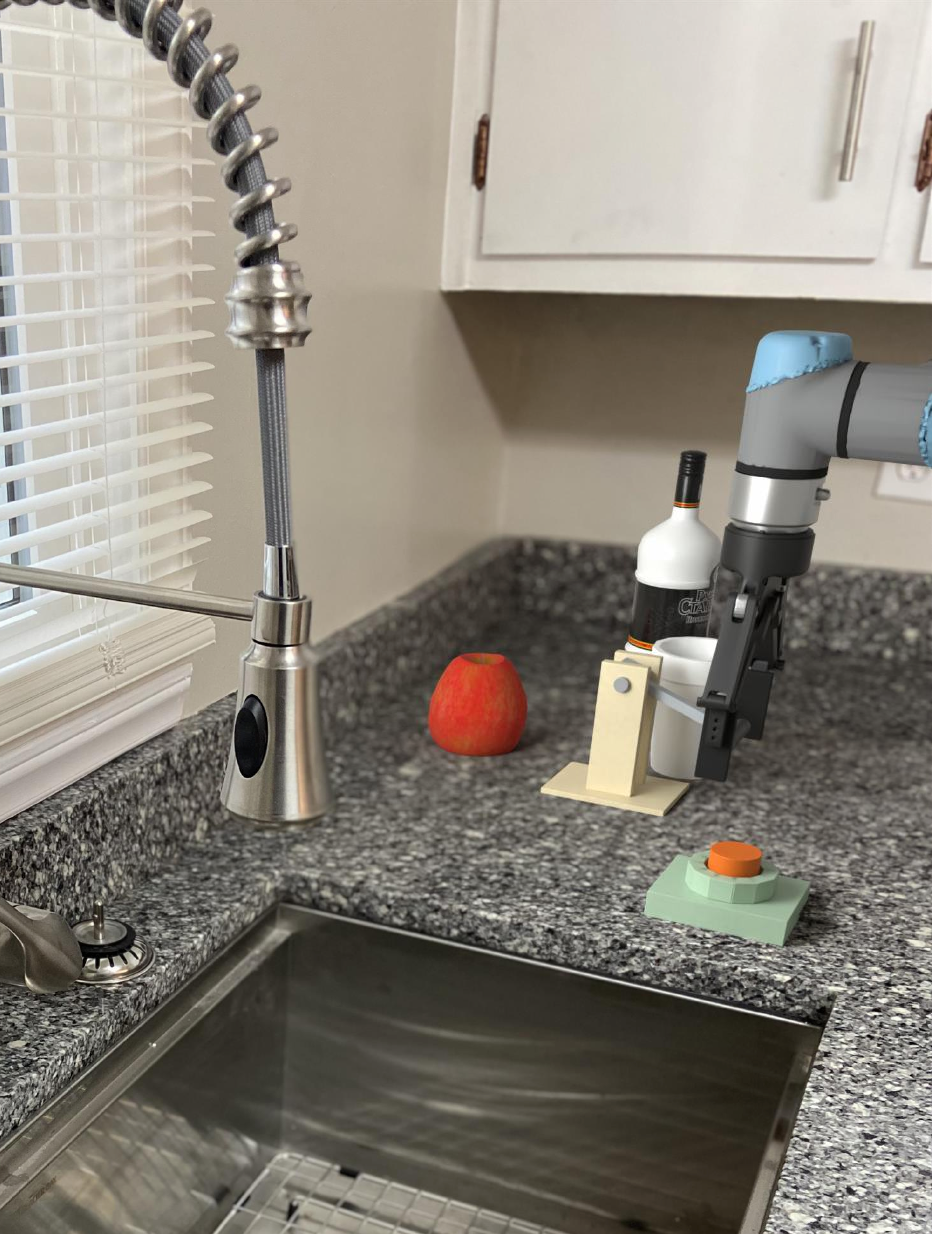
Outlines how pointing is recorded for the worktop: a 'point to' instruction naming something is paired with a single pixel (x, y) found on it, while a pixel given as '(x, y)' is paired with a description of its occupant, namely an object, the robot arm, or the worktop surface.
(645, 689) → the bracket
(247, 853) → the worktop surface
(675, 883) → the control block
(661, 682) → the foam cup
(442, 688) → the apple
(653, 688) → the lever
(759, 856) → the button
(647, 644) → the vodka
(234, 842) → the worktop surface
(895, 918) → the worktop surface
